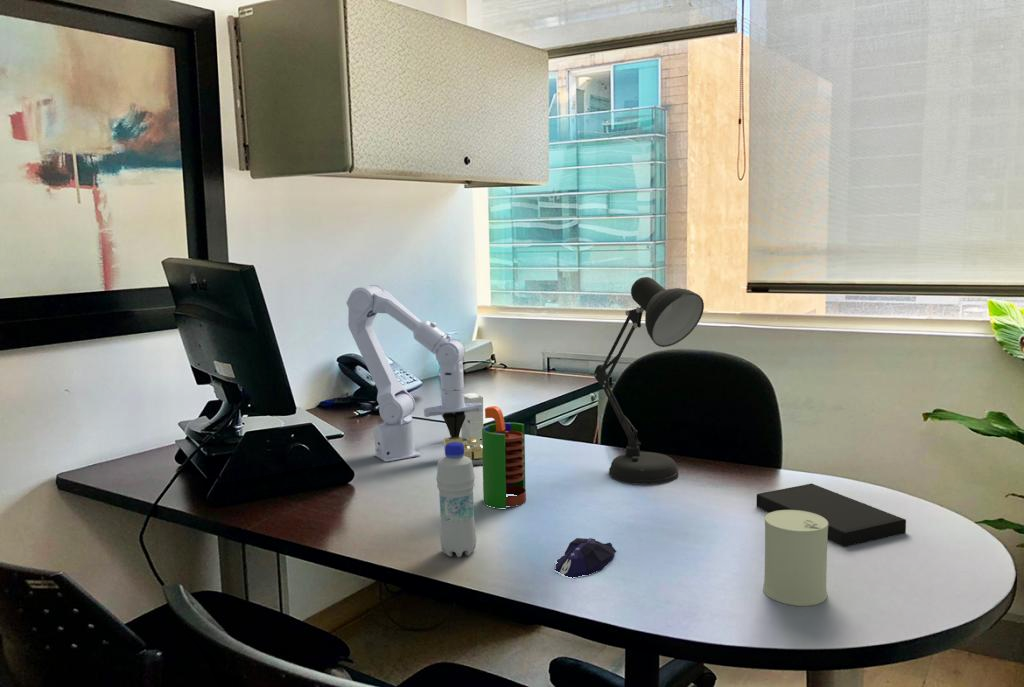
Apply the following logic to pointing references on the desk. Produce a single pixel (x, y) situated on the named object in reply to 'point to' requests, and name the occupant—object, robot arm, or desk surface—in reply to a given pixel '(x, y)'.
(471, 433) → the skincare box
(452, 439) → the brass valve fitting
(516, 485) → the coil heat exchanger
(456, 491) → the bottle
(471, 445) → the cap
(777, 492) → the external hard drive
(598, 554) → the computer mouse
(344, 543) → the desk surface
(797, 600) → the can
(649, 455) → the desk lamp
